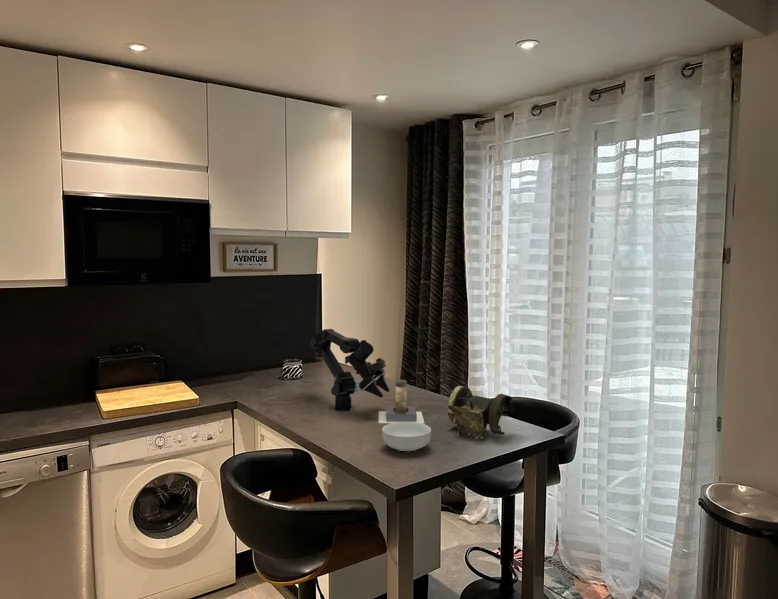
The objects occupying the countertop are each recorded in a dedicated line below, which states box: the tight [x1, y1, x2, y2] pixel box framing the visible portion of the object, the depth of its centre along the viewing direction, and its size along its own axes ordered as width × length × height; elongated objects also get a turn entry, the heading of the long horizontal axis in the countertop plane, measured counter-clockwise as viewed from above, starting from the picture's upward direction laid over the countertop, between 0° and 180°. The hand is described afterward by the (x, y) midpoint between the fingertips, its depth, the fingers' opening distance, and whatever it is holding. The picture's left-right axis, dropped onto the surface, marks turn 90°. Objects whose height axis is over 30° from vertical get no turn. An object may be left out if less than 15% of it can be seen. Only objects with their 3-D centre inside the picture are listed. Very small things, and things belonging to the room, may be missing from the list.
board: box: [378, 410, 426, 425], centre depth 225 cm, size 18×16×1 cm
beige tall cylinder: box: [394, 379, 408, 412], centre depth 224 cm, size 4×4×15 cm
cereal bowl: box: [381, 422, 432, 452], centre depth 190 cm, size 17×17×7 cm
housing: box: [385, 405, 417, 422], centre depth 224 cm, size 12×12×3 cm
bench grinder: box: [447, 385, 515, 440], centre depth 206 cm, size 20×22×20 cm
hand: (385, 394), depth 226 cm, fingers open, 9 cm apart
